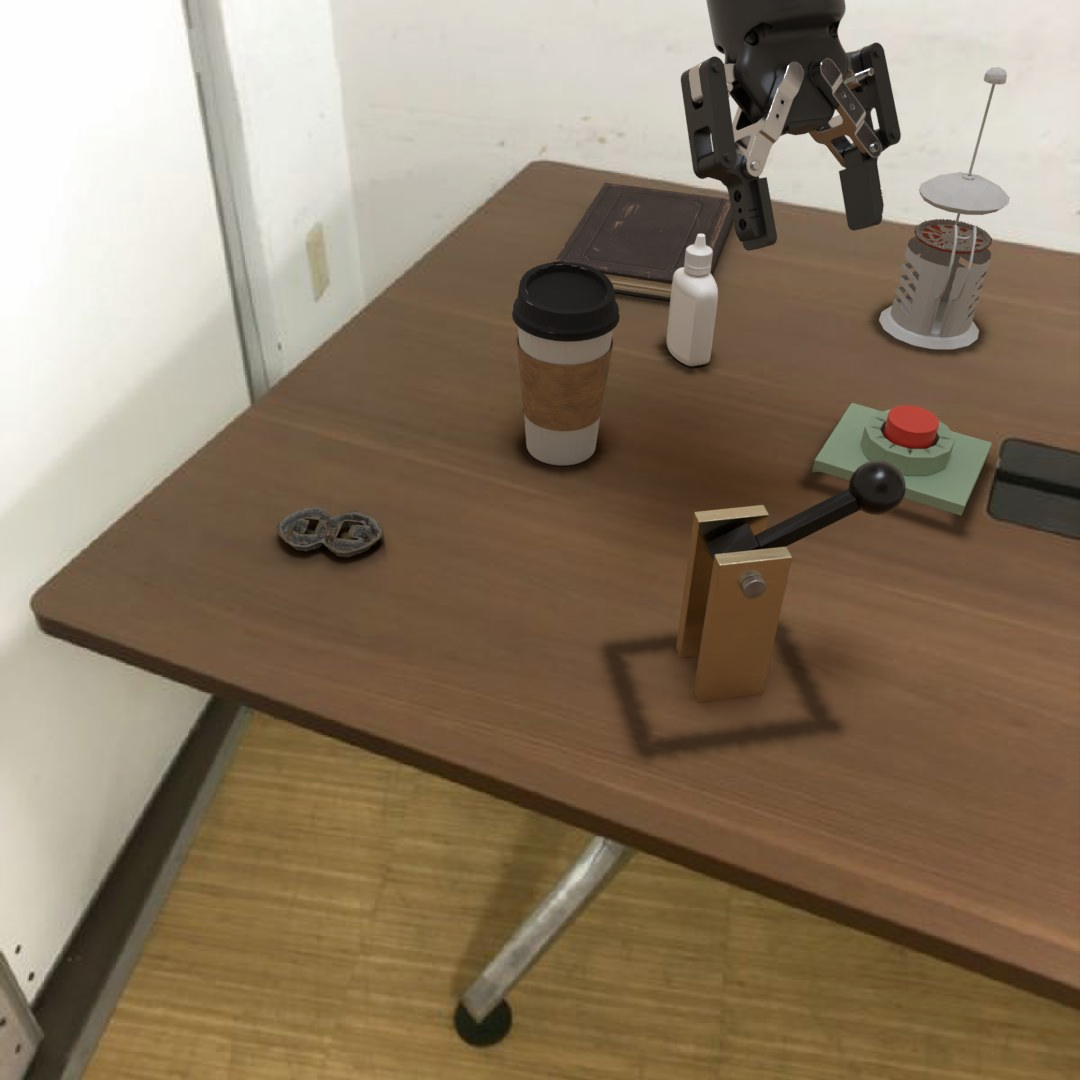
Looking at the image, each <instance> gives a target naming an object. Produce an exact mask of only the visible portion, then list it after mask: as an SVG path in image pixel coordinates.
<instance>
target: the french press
mask: <svg viewBox="0 0 1080 1080" xmlns="http://www.w3.org/2000/svg"><path fill="white" fill-rule="evenodd" d="M1007 73H1008V72H1007V71H1006V69H1004V68H1002V67H1000V66H995V67H990V68H989V69H988V70H986V72H985V74H984V76H983V81H984V82H985V83H987V84H991V88H990V92H989V94H988V95H989V96H988V99H987V102H986V106H985V110H984V115H983V118H982V122H981V125H980V129H979V133H978V136H977V140H976V143H975V147H974V152H973V155H972V158H971V162H970V166H969V170H968V172H962V171H961V172H950V173H945V174H939V175H937V176H935V177H932V178H930V179H927V180H926V181H924V182H921V183H920V185H919V189H918V191H919V195H920V197H921V198H922V199H923V201H924V202H926V203H927V204H929V205H931V206H932V207H934V208H937V209H940V210H943V211H945V212H948V213H953V214H956V219H950V218H946V219H945V218H939V219H938V218H935V219H929V220H924V221H922V222H920V223H919V224H917V225H915V228H914V232H913V233H914V235H915V236H913V237H911V238H910V239H909V240H908V243H907V245H906V249H905V252H904V258H905V259H906V260H907V261H908V262H907V263H902V264H901V265H902V266H901V269H900V270H901V271H902V272H903V273H904V274H902V275H899V276H898V283H899V284H900V285H901V286H897V287H896V290H895V295H896V296H897V298H893V301H892V305H890V306H889V307H887V308H885V309H884V310H882V311H881V312H880V316H879V319H878V321H879V323H880V325H881V327H882V329H883V330H884V331H885V332H886V333H888V334H889V335H890V336H892V337H893V338H895V339H896V340H899V341H901V342H904V343H906V344H909V345H911V346H914V347H919V348H923V349H930V350H956V349H961V348H965V347H969V346H970V345H972V344H973V343H975V342H976V341H977V340H978V338H979V333H980V329H979V327H978V326H977V325H976V323H975V322H974V321H973V319H974V316H975V313H976V310H977V308H976V307H977V305H978V303H979V299H980V294H981V292H982V289H983V283H984V282H985V279H986V275H987V270H988V268H989V266H990V262H991V259H992V252H991V250H989V248H990V246H991V245H992V241H993V238H992V237H991V235H990V234H989V233H988V232H987V231H986V229H983V228H981V227H979V225H976V224H972V223H969V222H966V221H963V220H960V217H961V215H966V216H984V215H989V214H993V213H997V212H999V211H1000V210H1002V209H1003V208H1005V207H1006V206H1008V205H1009V204H1010V196H1009V195H1008V193H1006V191H1005V190H1004V189H1003V188H1002V187H1001V185H999V184H997V183H995V182H993V181H992V180H990V179H988V178H986V177H984V176H981V175H980V174H975V173H973V168H974V165H975V161H976V158H977V154H978V150H979V147H980V143H981V140H982V135H983V131H984V128H985V124H986V120H987V116H988V113H989V110H990V106H991V102H992V98H993V94H994V92H995V87H996V85H1005V84H1006V83H1007V78H1008V75H1007ZM918 255H920V256H918ZM960 258H962V259H963V260H965V261H967V262H968V266H965V265H963V264H962V263H960ZM973 264H975V265H973ZM912 268H913V269H914V270H915V271H913V272H911V270H910V269H912ZM980 278H981V280H980V281H978V280H979V279H980ZM909 280H910V282H911V283H908V282H907V281H909ZM977 281H978V282H977ZM977 290H978V291H977ZM976 291H977V293H976V294H975V292H976ZM904 292H906V293H907V294H904ZM973 303H974V304H973ZM972 304H973V305H972Z"/></svg>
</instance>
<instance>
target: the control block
mask: <svg viewBox="0 0 1080 1080" xmlns="http://www.w3.org/2000/svg"><path fill="white" fill-rule="evenodd" d="M890 410H891V409H885V410H879V409H875V408H872V407H868V406H865V405H862V404H858V403H855V402H851V403H850V405H849V406H848V408H847V409H846V411H845V412H844V414H843V416H842V417H841V418H840V419H839V422H837V425H836V426H835V428H834V429H833V431H832V432H831V434H830V435H829V437H828V439H827V440H826V442H825V443H824V445H823V446H822V448H821V449H820V451H819V452H818V454H817V456H816V457H815V458H814V461H813V466H812V471H811V473H823V474H827V475H830V476H833V477H835V478H838V479H839V478H840V479H843V480H845V481H849V482H850V479H851V477H852V475H853V473H854V472H855V471H856V469H857V468H859V467H860V466H861V465H863V464H865V463H867V462H870V461H885V462H888V463H891V464H892V465H894V466H895V467H897V468H898V469H899V471H900V472H901V473H902V475H903V477H904V480H905V484H906V490H905V495H904V498H903V499H907V500H910V501H912V502H916V503H919V504H921V505H924V506H925V505H926V506H929V507H933V508H935V509H937V510H942V511H945V512H947V513H950V514H951V513H952V514H954V515H958V516H963V514H964V511H965V509H966V507H967V504H968V502H969V500H970V497H971V496H972V493H973V491H974V490H975V489H974V488H975V486H976V484H977V482H978V479H979V477H980V474H981V473H982V470H983V468H984V465H985V463H986V461H987V459H988V456H989V454H990V451H991V448H992V446H993V442H991V441H987V440H984V439H981V438H977V437H974V436H970V435H967V434H963V433H960V432H956V431H953V430H951V429H950V427H949V426H948V425H946V424H945V423H943V422H942V421H941V420H939V427H938V430H937V434H936V437H935V441H934V443H933V445H932V446H931V447H929V448H927V449H908V448H905V447H902V446H898V445H895V444H893V443H892V442H890V441H889V440H887V439H886V438H885V436H884V428H885V424H886V421H887V417H888V413H889V412H890Z"/></svg>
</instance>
